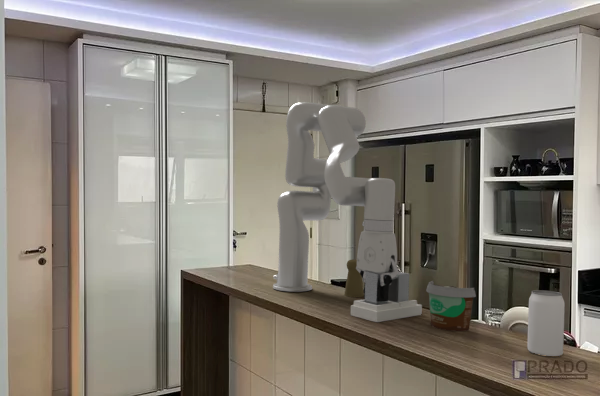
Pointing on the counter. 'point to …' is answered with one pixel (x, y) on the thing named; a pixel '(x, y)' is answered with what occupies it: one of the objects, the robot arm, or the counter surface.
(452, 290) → the food container
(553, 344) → the can
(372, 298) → the upright gray prism
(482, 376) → the counter surface
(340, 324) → the counter surface
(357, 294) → the cork
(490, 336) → the counter surface
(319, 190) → the robot arm
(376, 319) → the white stepped block base
